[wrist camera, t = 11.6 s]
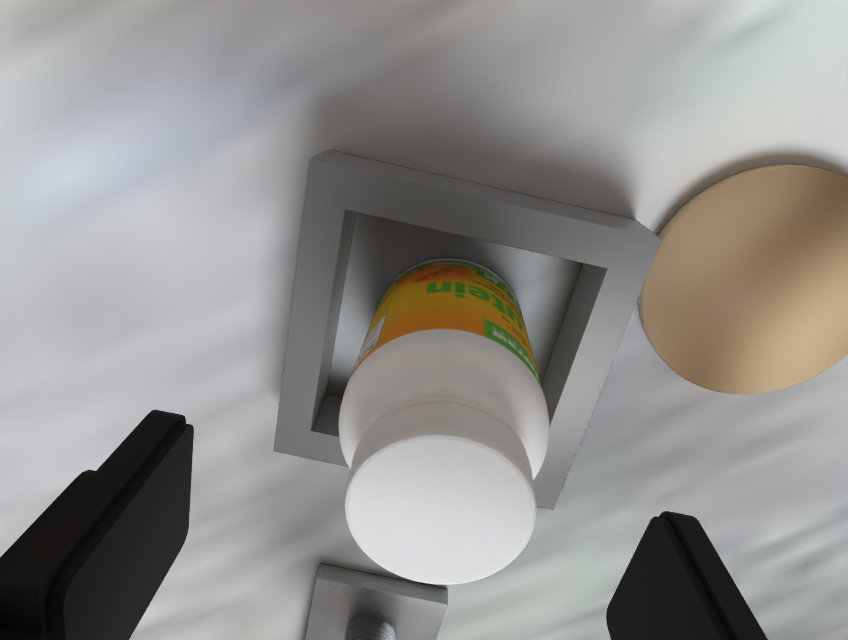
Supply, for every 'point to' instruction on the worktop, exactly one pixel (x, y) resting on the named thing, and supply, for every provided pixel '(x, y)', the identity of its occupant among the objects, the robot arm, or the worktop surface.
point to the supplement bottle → (444, 427)
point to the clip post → (373, 607)
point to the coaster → (753, 281)
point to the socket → (476, 218)
